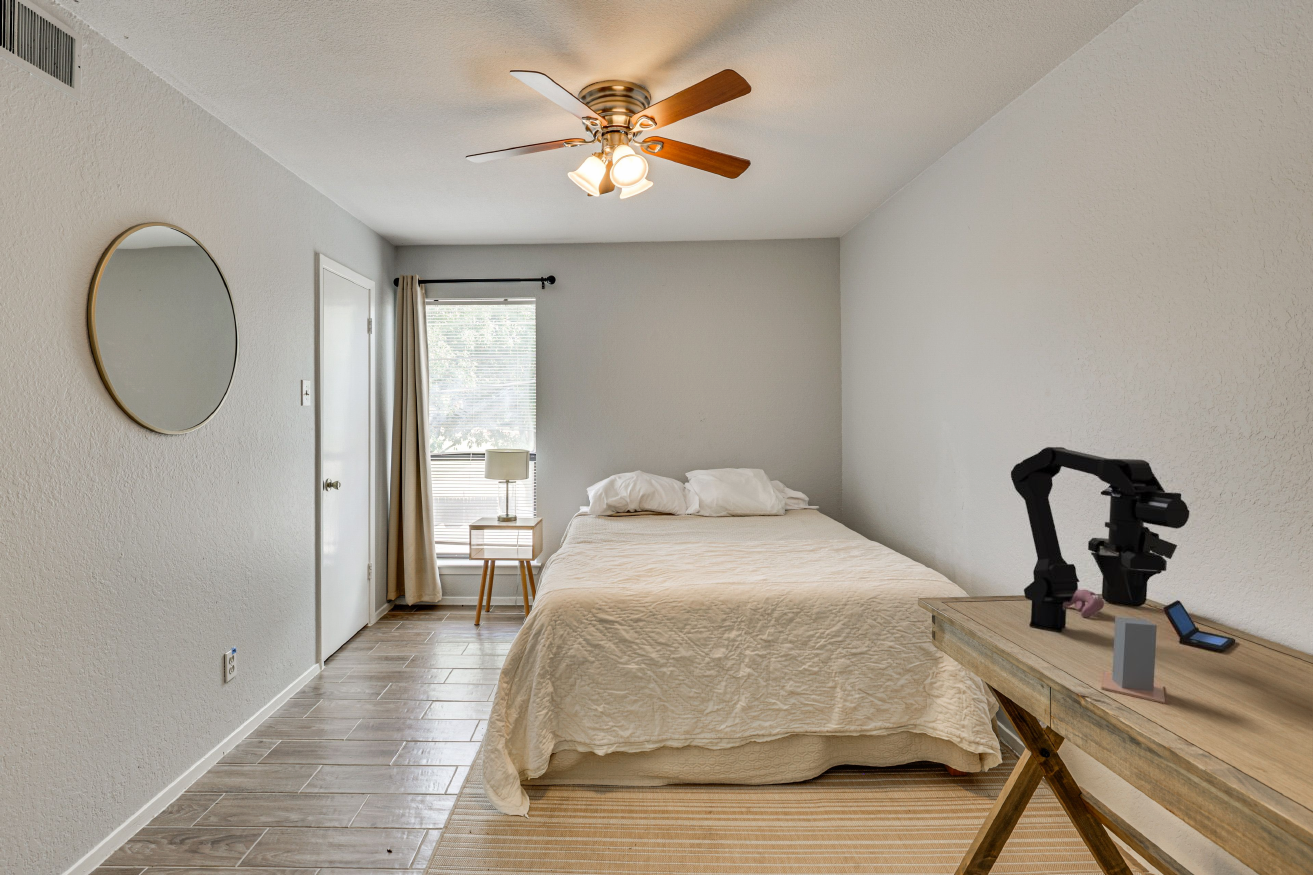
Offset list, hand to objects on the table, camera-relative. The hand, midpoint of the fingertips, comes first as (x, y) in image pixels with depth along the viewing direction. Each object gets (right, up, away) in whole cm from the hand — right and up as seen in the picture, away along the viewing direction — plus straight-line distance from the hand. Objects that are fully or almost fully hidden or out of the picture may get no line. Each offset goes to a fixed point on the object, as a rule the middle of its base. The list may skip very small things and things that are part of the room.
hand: (1122, 594), depth 130 cm
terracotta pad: (-10, -13, -15) cm, 22 cm away
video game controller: (+12, -13, +30) cm, 35 cm away
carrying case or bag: (+29, -13, +37) cm, 49 cm away
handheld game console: (+25, -14, +11) cm, 31 cm away
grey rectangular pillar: (-9, -13, -15) cm, 22 cm away
